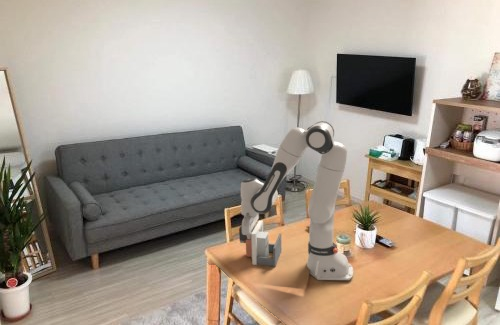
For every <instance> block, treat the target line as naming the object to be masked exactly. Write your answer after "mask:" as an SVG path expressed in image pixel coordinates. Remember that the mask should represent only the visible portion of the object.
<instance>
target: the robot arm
mask: <svg viewBox="0 0 500 325" xmlns="http://www.w3.org/2000/svg"><path fill="white" fill-rule="evenodd" d="M334 136H335V129H334V127H333V126H332V124H331V123H329V122H327V121H318V122H316V123H314V124H313V125H311V126H309V127H308V128H307V129H304V128H301V127H299V126H298V127H297V126H296V127H292V128H291V129H290V130H289V132H288V133H287V134H286V135H285V137H284V138H283V140H282V141H281V143H280V145H279V147H278V149H277V152H276V155H275V156H274V157H275V158H274V160H273V164H272V166H271V169H270V172H269V174H268V176H267V177H266V180H265V181H264V182H262V181H260V180H258V178H256V177H248V178H245V179H243V180H242V182H241V183H240V199H241V202H240V214H241V215H242V216H243V219H242V221H241V226H242V234H243V235H247V238H248V239H251V232H253V230H254V229H255V227H256V225H257V223H258V222H259V218H260V215H264V214H268V213H269V212H270V211H271V209H272V207H273V205H274V204H275V202H276V201H277V200H278V197H279V192H278V190H277V189H278V188H279V186H280V184H281V183H282V182H283V180H284V178H286V176H288V174H289V173H290V172H291V171H292V170H293V169H294V168H295V167H296V166H297V164H298V163H299V162H300V160H301V158H302V157H303V154H304V153H305V152H306V150H307V148H310V149H311V150H313V151H315V152H317V153H319V154H320V155H321V157H320V161H319V165H318V169H317V174H316V177H315V181H314V184H313V188H312V192H311V196H310V199H309V203H308V207H307V213H308V218H309V219H310V222H309V227H308V228H309V232H308V234H309V239H308V240H309V241H308V242H307V244H308V245H307V253H308V257H307V262H306V267H307V268H308V270H309V275H311V276H312V277H314V279H316V280H317V281H350V280H351V279H352V278H353V276H354V267H353V266H352V264H351V263H349V261H348V258H347V256H346V255H345V254H343V253H342V252H340V251H339V249H338V244H337V242H335V243H334V227H333V226H334V223H335V222H334V221H335V209H336V208H335V206H336V201H337V198H338V193H339V189H340V187H341V183H342V179H343V175H344V172H345V170H346V169H345V168H346V165H347V164H346V163H347V157H348V156H347V155H348V149H347V146H345V145H344V144H343V143H341V142H339V141H336V140H335V139H334V138H335V137H334Z"/></svg>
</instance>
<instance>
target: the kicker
mask: <svg viewBox="0 0 500 325" xmlns="http://www.w3.org/2000/svg"><path fill="white" fill-rule="evenodd" d="M238 231H239V232H238V233H239V234H238V235H239V243H240V244H245V253H246V255H245V256H246V257H248V258H249V257H250V258H252V246H251V239H248V238H247V235H243V234H242V225H241V226H240V227H239V228H238ZM251 237H252V232H251Z"/></svg>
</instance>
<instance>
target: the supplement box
mask: <svg viewBox="0 0 500 325" xmlns="http://www.w3.org/2000/svg"><path fill="white" fill-rule="evenodd" d="M269 244H270V243H269V232H268V231H263V232H258V234H257V256H261V257H269V255H270V253H269V252H270V251H269ZM251 246H252V237H251Z"/></svg>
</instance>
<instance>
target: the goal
mask: <svg viewBox="0 0 500 325" xmlns="http://www.w3.org/2000/svg"><path fill="white" fill-rule="evenodd" d="M258 232H264V220H259V219H258V221H257V222H256V224H255V229H254V230H253V232H252V257H251V260H252V265H254V266H257V265H258V266H268V267H273V268H276V267H277V264H278V261H279V259H280V256H281V254H282V233H278V236H277V238H276V240H275V243H269V252H270V253H271V252H273V253H272V255H273V256H272V257H269V256H268V257H261V256H257V234H258Z"/></svg>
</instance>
